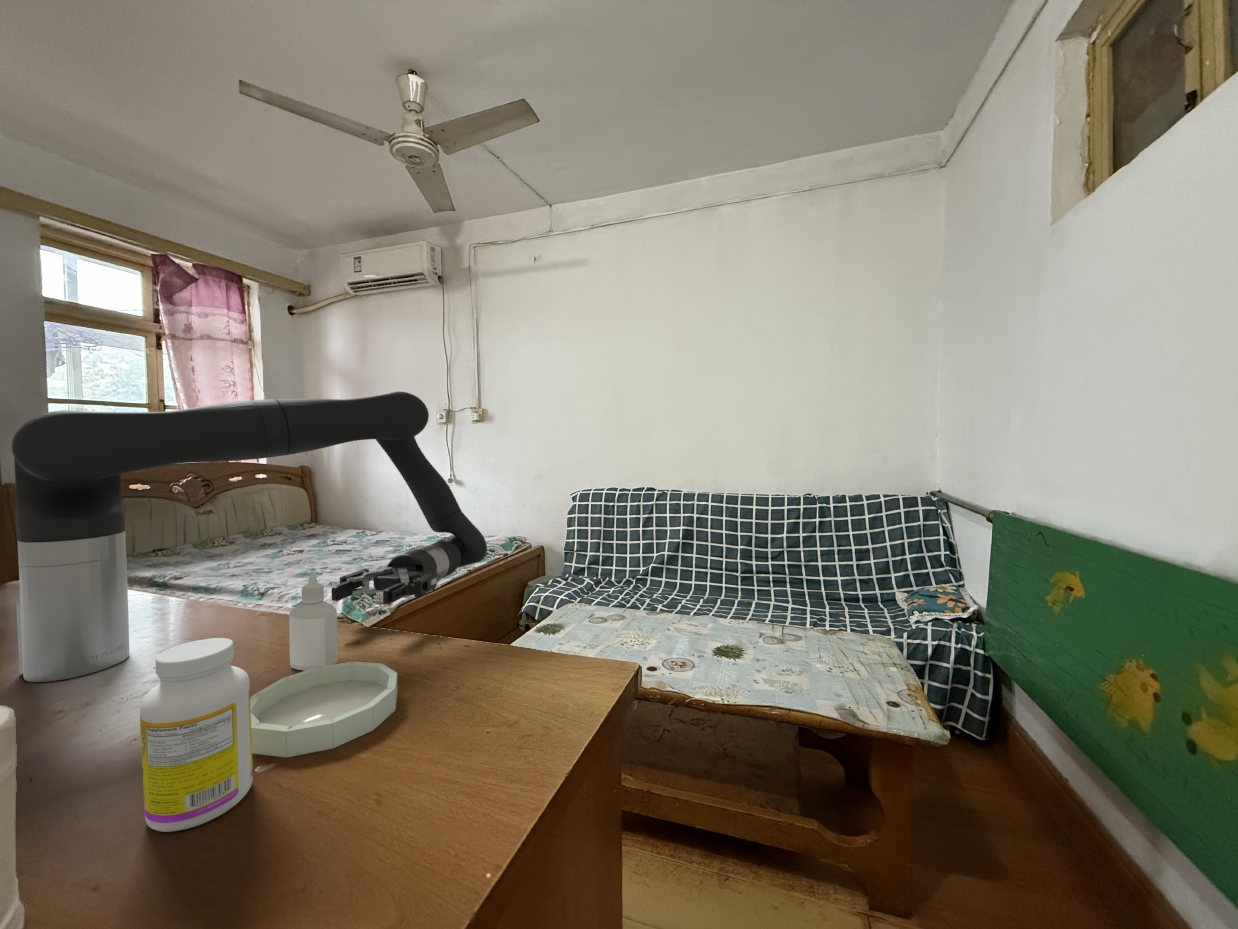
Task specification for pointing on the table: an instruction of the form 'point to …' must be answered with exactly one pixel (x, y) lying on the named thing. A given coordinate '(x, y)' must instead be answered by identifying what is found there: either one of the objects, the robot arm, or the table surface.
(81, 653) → the robot arm
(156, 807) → the supplement bottle
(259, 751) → the dish
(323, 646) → the eye dropper bottle
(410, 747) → the table surface
